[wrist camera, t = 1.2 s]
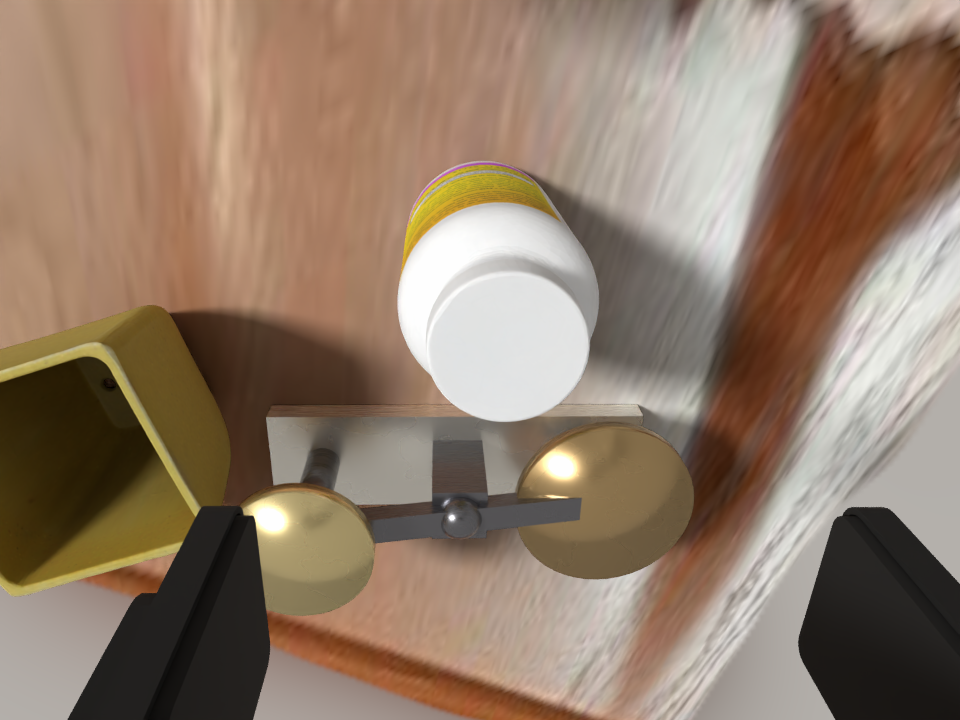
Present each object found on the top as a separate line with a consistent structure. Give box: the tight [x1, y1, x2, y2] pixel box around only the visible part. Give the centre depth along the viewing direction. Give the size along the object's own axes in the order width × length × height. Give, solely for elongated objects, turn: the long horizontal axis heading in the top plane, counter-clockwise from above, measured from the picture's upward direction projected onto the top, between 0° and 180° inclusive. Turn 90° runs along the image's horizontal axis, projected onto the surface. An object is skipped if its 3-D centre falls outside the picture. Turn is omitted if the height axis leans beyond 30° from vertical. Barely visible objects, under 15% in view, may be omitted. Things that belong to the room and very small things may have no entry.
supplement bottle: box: [398, 161, 599, 422], centre depth 26 cm, size 7×7×13 cm
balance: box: [239, 405, 694, 616], centre depth 32 cm, size 20×8×8 cm, turn 89°
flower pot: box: [0, 305, 231, 597], centre depth 29 cm, size 9×9×9 cm
